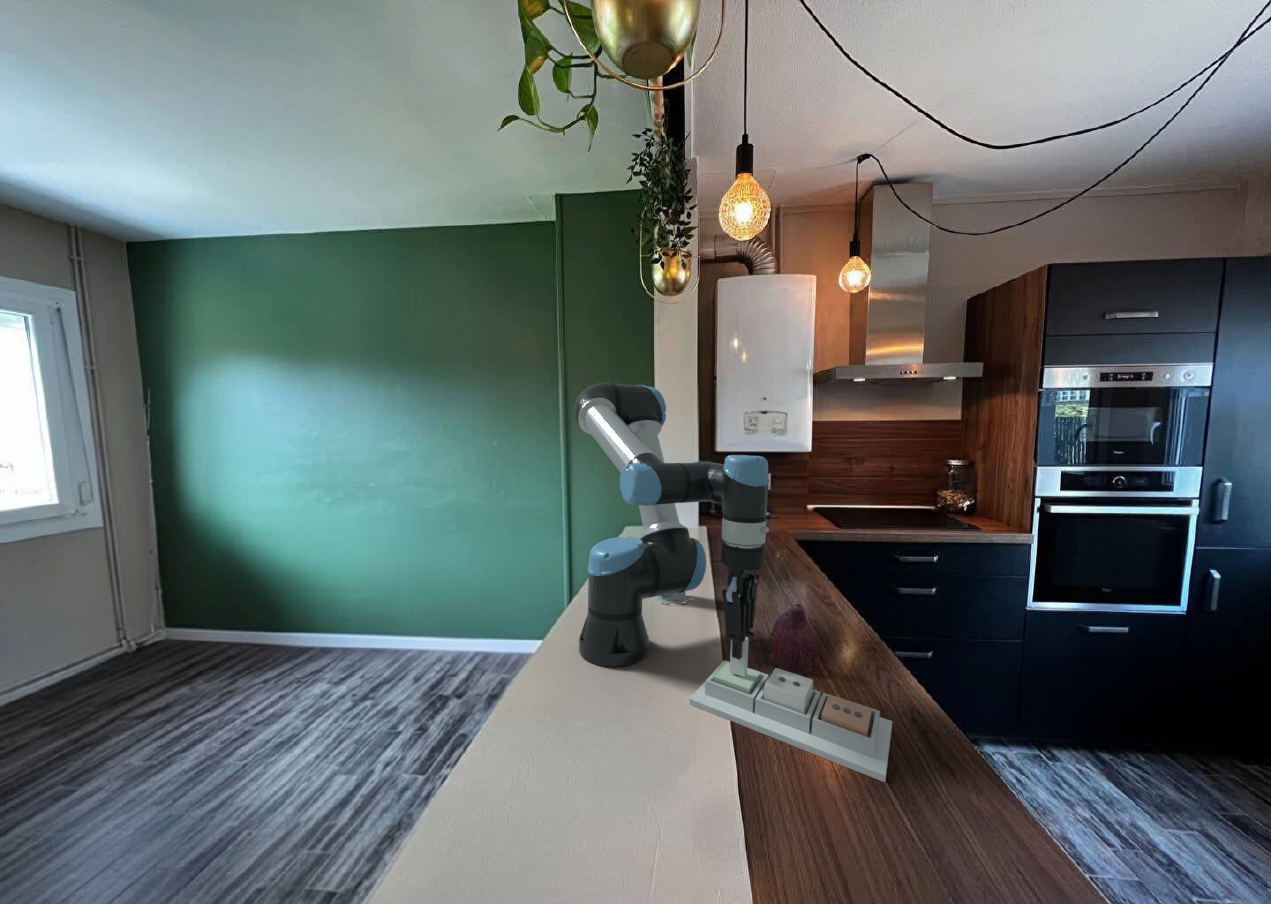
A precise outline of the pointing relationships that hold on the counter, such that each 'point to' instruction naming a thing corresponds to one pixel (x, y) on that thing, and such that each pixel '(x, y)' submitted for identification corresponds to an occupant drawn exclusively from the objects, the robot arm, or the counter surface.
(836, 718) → the key three
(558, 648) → the counter surface
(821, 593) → the counter surface
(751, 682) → the key one
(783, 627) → the vegetable
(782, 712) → the console
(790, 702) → the key two
